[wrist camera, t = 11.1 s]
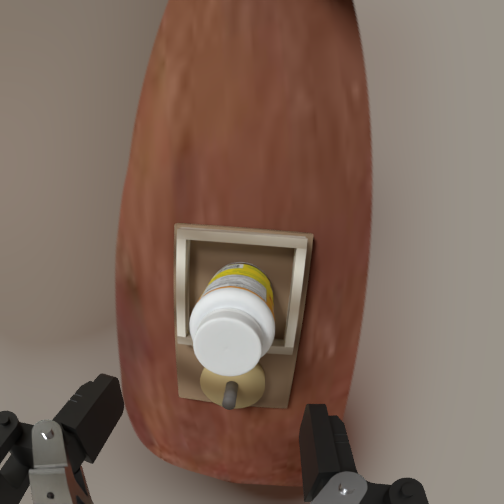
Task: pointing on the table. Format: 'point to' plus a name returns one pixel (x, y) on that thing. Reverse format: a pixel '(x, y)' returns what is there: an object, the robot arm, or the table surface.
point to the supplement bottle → (234, 320)
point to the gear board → (284, 297)
